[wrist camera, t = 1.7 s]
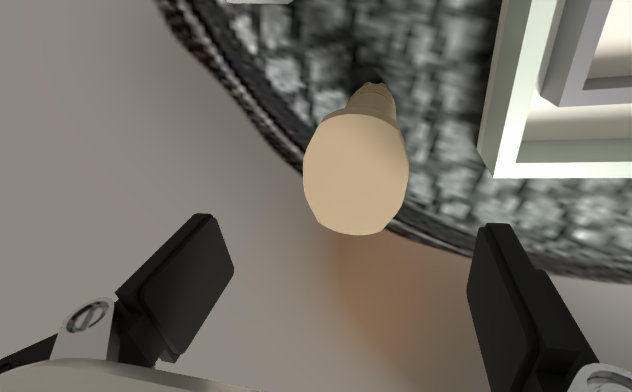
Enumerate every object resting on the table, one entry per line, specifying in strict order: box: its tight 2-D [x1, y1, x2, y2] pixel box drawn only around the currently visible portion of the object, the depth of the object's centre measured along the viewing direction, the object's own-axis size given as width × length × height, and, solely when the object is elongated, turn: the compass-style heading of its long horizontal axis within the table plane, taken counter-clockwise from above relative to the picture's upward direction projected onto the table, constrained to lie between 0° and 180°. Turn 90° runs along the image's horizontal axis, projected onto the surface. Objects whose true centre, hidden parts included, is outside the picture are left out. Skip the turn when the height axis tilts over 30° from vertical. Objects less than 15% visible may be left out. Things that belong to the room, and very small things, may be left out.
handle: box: [303, 82, 409, 235], centre depth 20 cm, size 5×6×15 cm
